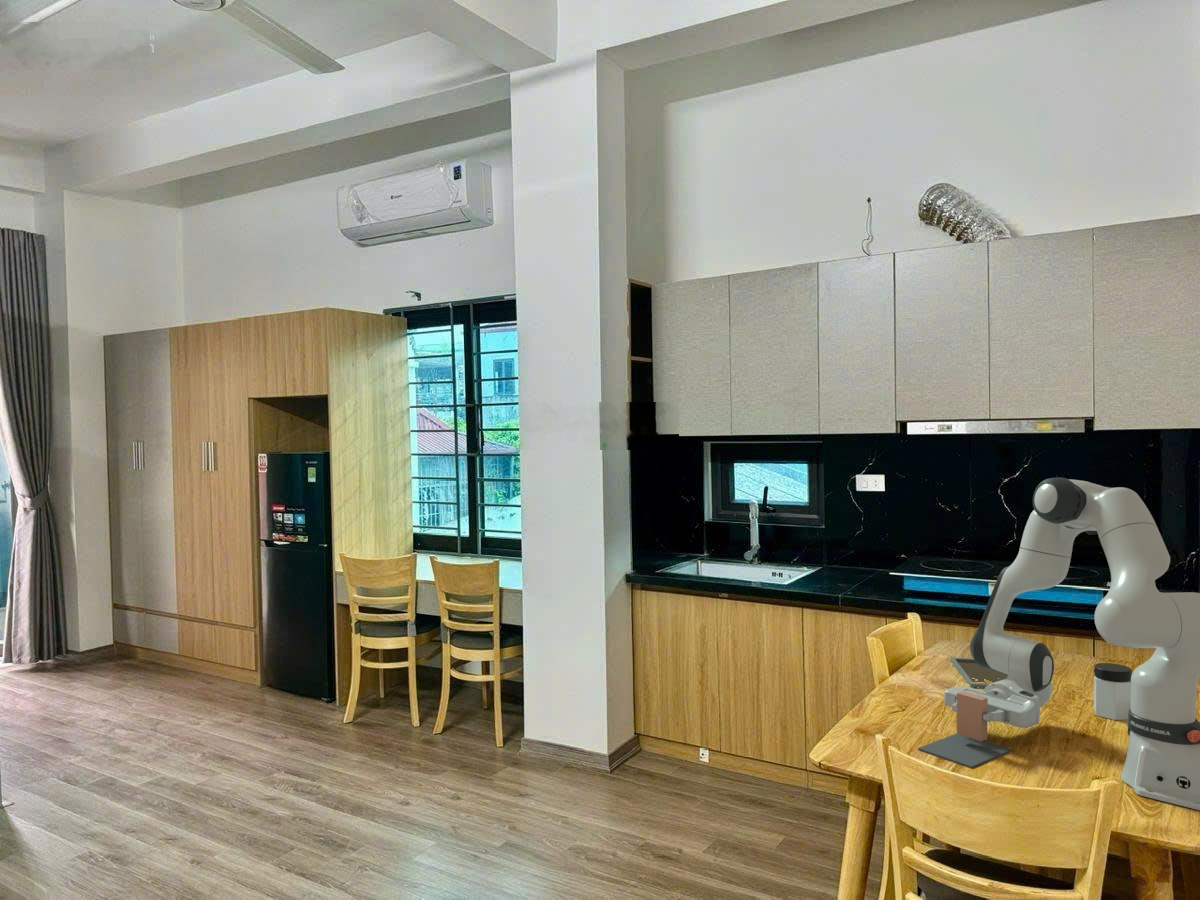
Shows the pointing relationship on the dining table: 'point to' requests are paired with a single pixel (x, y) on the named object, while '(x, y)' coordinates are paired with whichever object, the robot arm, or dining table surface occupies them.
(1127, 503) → the robot arm
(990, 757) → the mat
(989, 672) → the grey picture frame
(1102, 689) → the jar
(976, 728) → the block
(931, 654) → the dining table surface
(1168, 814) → the dining table surface
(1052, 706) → the dining table surface
